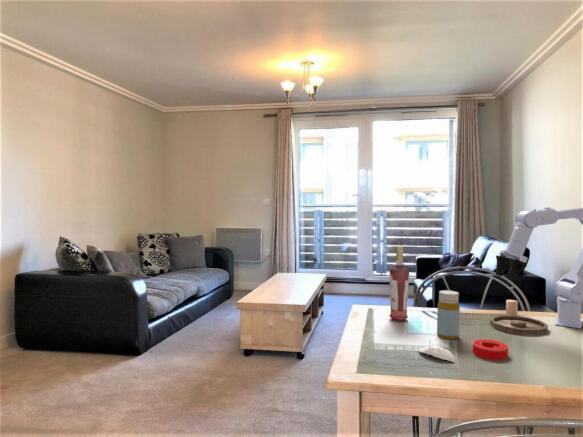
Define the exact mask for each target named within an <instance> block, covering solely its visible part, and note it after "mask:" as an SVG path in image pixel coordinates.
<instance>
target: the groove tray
mask: <svg viewBox="0 0 583 437" xmlns="http://www.w3.org/2000/svg"><path fill="white" fill-rule="evenodd" d="M489 325H490V326H491V327H493V329H494V330H495V329H496V330H498V331H500V332H501V331H502V332H505V333H509V334H513V335H520V336H521V335H522V336H539V335H546V334H547V332H548V328H549V325H548V323H545V322H543V321H542V320H539V319H536V318H533V317H532V318H531V317H526V316H520V315H517V316H513V315H506V314H502V315H495V316H492V317H491V318H490V320H489Z"/></svg>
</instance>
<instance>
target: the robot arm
mask: <svg viewBox="0 0 583 437" xmlns="http://www.w3.org/2000/svg"><path fill="white" fill-rule="evenodd" d="M514 219H515V220H514V221H515V225H514V229H513V231H512V234H511V236H510V240H509V241H508V243H507V246H506V249H502V250H500V252H499V254H496V256H495V257H496V258H495V259H496V270H495V275H497V276H498V277H503V275H504V274H505V273H506V270H507V269H508V267H509V269H508V271H507V276H506V279H507V280H510V281H514V280H515V279H516V278H517V276H518V275H519V273H521V272H522V270H523V269H525V268H526V267H527V266H528V265H527V264H526V263H527V262H528V259H529V258H528V257H527V256H525V255H524V254H525V250H526V248H527V245H528V243H529V240H530V238H531V236H532V233H533V231H534V228H538V227H540V226H545V225H546V226H547V225H553V224H556V223H557V222H558V221H559V220H568V219H575V220H578V221H579V223H580V224H581V225H582V226H583V207H572V208H571V207H570V208H567V209H560V210H556V209H555V208H553V207H550V206H545V207H544V208H541V209H537V208H532V209H531V211H530V210H521V211H520V212H519V213H518V214H516V215H515V218H514ZM553 293H555V295H556V298H557V317H556V320H555V323H554V325H556V326H560V327H568V328H576V329H582V324H583V320H581V317H582V316H581V315H582V314H581V313H582V303H583V247H582V248H581V250H580V252H579V254H578V256H577V258H576V260H575V261H574V263H573V265H572V267H571V269H570V270H569V272H568V273H566V274H563V275H562V276H561V278H560V279H559V280H558V281H556V283H554V286H553Z"/></svg>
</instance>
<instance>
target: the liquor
mask: <svg viewBox="0 0 583 437" xmlns="http://www.w3.org/2000/svg"><path fill="white" fill-rule="evenodd" d="M395 253H396V258H395V265H394V267H391V268H390V269H389V292H390V295H389V296H390V300H389V301H390V313H389V317H390V319H391V320H392V321H394V322H405V321H406V320H407V319H408V318H409V316H408V298H409V297H408V296H409V286H410V285H409V283H410V282H409V281H410V270H409V269H408V268H406V267H404V257H403V256H404V246H402V245H396V247H395Z"/></svg>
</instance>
